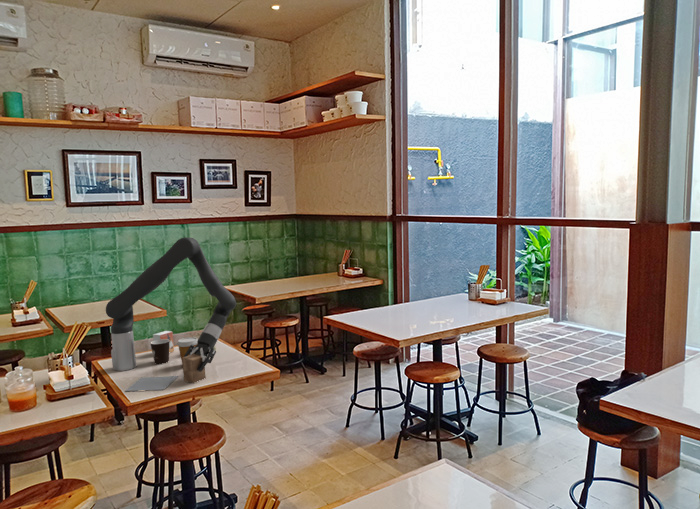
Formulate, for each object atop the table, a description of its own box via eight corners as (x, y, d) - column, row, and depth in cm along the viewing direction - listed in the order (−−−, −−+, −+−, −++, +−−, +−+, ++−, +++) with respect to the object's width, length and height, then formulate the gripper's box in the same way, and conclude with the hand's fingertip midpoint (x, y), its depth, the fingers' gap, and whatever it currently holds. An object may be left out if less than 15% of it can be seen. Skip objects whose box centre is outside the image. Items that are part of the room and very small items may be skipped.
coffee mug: (171, 363, 247) (169, 342, 246) (151, 366, 245) (149, 345, 244) (171, 356, 258) (170, 336, 257) (153, 359, 256) (151, 339, 255)
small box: (161, 356, 261) (159, 335, 260) (154, 354, 264) (152, 334, 263) (174, 351, 267) (172, 331, 266) (167, 350, 270) (165, 330, 269)
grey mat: (125, 391, 212) (124, 390, 212) (141, 378, 228) (141, 377, 228) (164, 390, 211) (164, 389, 211) (177, 376, 227) (177, 375, 227)
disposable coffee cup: (203, 361, 247) (201, 336, 246) (195, 368, 238) (193, 342, 237) (184, 362, 248) (182, 337, 247) (175, 368, 239) (173, 342, 238)
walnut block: (184, 381, 221) (182, 357, 220) (195, 376, 226) (193, 353, 225) (194, 383, 218) (192, 359, 217) (205, 378, 223) (203, 355, 222)
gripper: (193, 330, 230) (174, 363, 222) (216, 333, 223) (198, 367, 214) (203, 339, 235) (185, 371, 227) (226, 342, 228) (209, 376, 219)
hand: (191, 369), depth 221 cm, fingers open, 8 cm apart
